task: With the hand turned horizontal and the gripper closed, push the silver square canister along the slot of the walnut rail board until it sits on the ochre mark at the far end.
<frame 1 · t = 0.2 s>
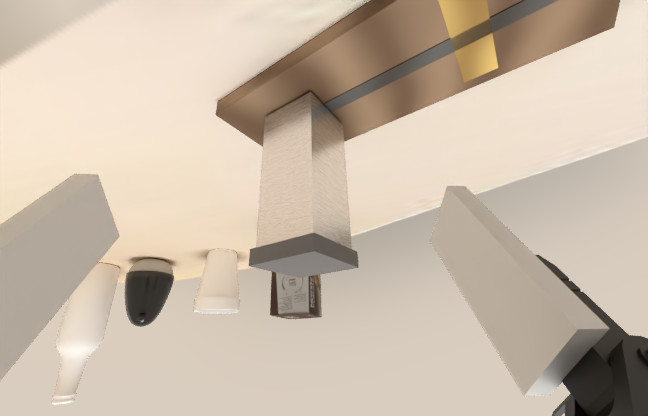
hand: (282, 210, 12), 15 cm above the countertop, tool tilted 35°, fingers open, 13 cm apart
silver square canister: (305, 185, 24), point 8 cm above the countertop, slide at 0.0 cm
coffee box: (298, 222, 55), on the countertop
rail board: (385, 63, 24), on the countertop
foam cup: (223, 252, 70), on the countertop
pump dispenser: (154, 260, 75), on the countertop
alcohol: (101, 265, 78), on the countertop
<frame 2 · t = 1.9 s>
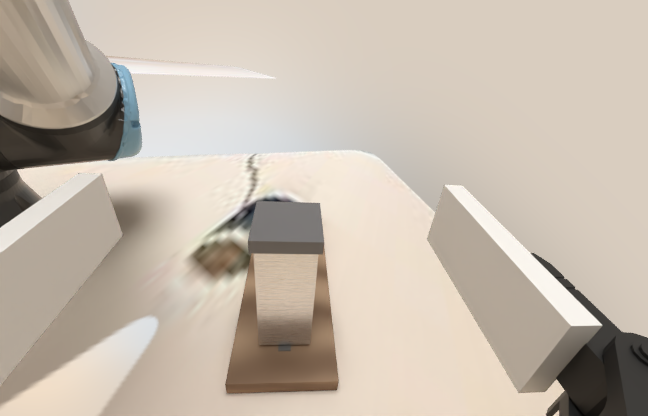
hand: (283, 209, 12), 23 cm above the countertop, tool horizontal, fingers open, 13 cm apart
silver square canister: (286, 277, 28), point 8 cm above the countertop, slide at 0.0 cm
rail board: (287, 279, 39), on the countertop
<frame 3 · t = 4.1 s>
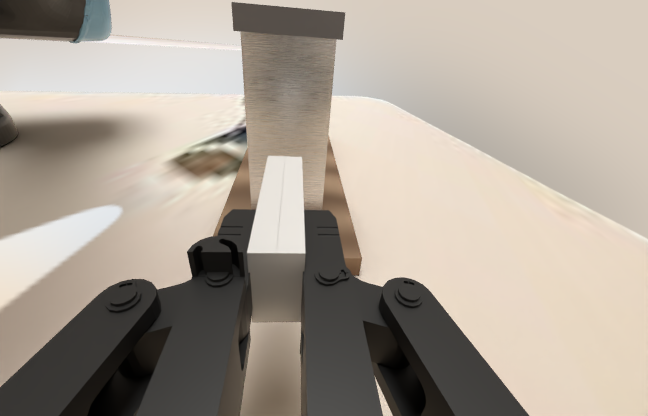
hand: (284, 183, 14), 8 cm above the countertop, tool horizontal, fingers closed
silver square canister: (288, 123, 21), point 8 cm above the countertop, slide at 0.0 cm
rail board: (289, 180, 32), on the countertop
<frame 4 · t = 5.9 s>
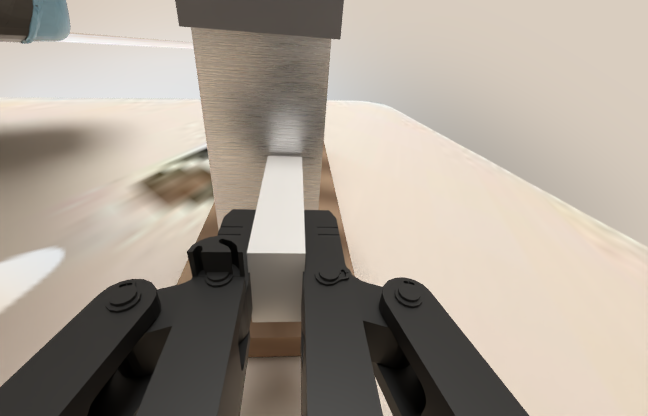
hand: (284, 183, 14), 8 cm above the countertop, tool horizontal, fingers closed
silver square canister: (270, 149, 16), point 8 cm above the countertop, slide at 0.3 cm, touching gripper
rail board: (278, 207, 27), on the countertop
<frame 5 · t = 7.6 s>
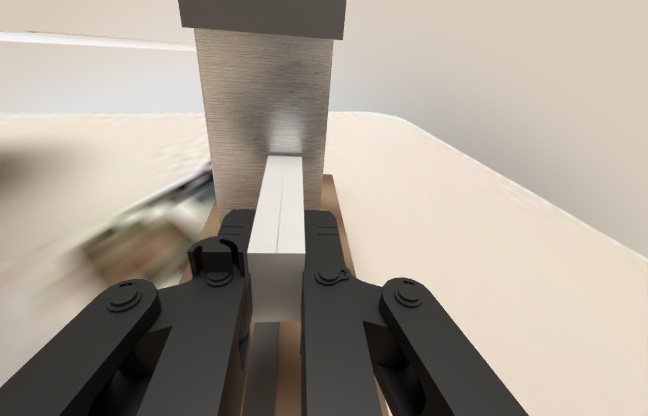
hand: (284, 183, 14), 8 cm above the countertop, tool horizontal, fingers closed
silver square canister: (272, 149, 16), point 8 cm above the countertop, slide at 10.2 cm, touching gripper
rail board: (272, 293, 18), on the countertop
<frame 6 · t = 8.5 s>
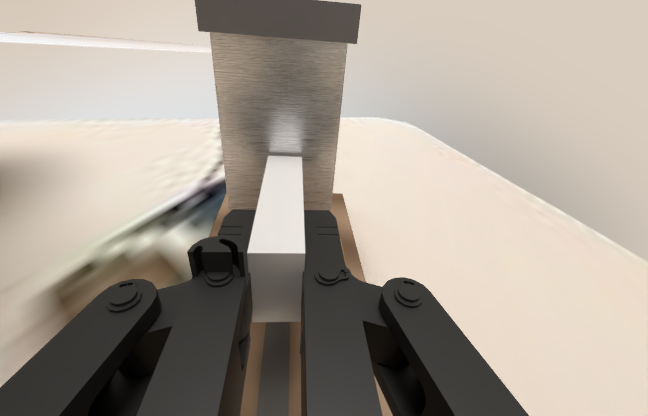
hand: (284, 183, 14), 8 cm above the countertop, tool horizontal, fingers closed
silver square canister: (282, 151, 16), point 8 cm above the countertop, slide at 13.9 cm, touching gripper
rail board: (277, 350, 15), on the countertop
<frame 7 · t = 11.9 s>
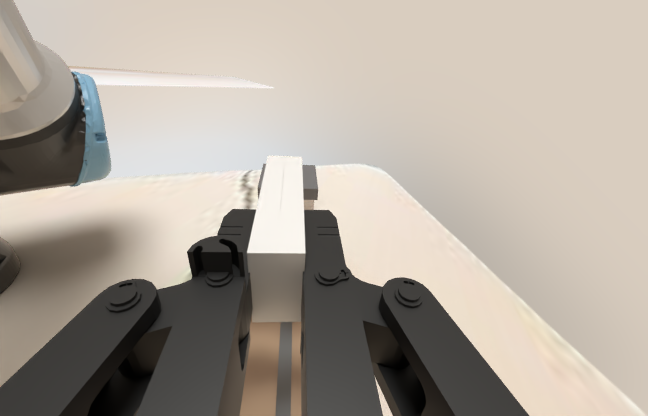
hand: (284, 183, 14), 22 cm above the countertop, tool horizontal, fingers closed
silver square canister: (288, 228, 34), point 8 cm above the countertop, slide at 14.8 cm
rail board: (286, 329, 32), on the countertop
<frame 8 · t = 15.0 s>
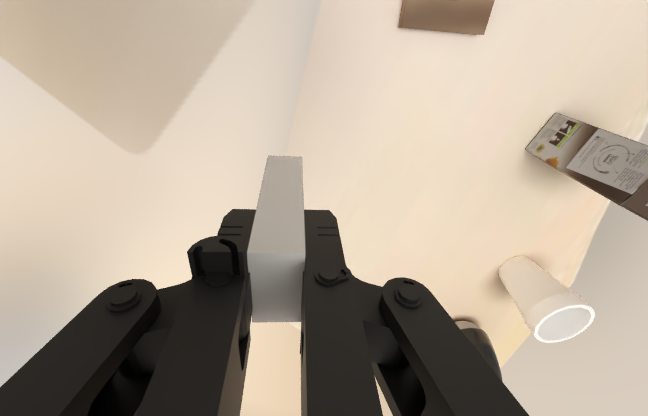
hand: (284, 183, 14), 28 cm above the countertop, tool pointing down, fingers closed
coffee box: (558, 143, 46), on the countertop
foam cup: (513, 267, 59), on the countertop
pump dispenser: (455, 327, 68), on the countertop
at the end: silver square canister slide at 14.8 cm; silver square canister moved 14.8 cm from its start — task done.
